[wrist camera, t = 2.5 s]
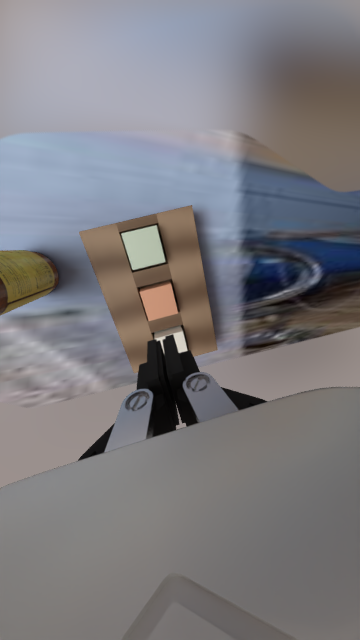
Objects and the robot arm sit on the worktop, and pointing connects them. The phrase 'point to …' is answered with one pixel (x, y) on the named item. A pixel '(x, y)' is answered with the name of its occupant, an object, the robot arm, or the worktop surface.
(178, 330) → the cream button
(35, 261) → the sauce bottle
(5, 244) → the worktop surface
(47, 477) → the robot arm
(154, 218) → the button panel
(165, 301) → the terracotta button
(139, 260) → the sage button
